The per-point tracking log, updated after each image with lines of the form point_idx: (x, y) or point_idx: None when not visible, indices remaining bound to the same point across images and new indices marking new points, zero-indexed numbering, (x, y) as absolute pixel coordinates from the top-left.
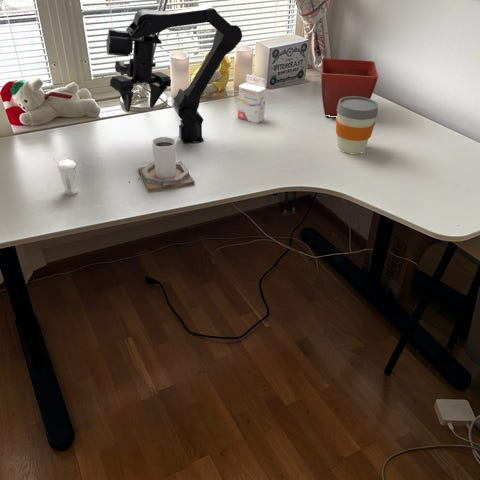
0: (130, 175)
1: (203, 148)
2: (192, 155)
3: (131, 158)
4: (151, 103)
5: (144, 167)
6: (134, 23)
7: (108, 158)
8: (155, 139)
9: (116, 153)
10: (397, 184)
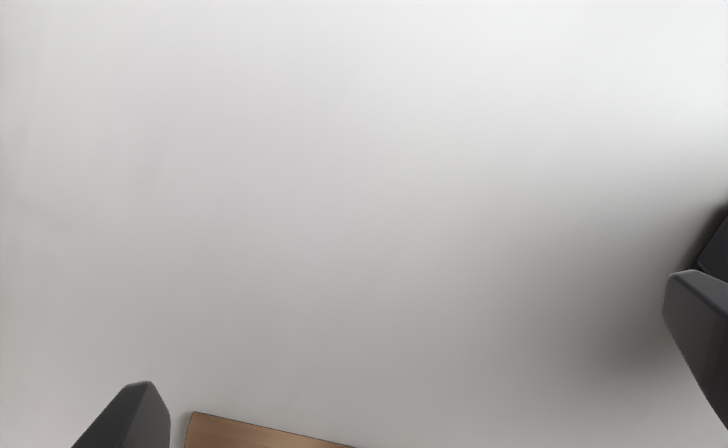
0: None
1: None
2: (575, 426)
3: (213, 272)
4: (712, 352)
5: (222, 442)
6: None
7: (53, 187)
8: None
9: (134, 146)
10: None
